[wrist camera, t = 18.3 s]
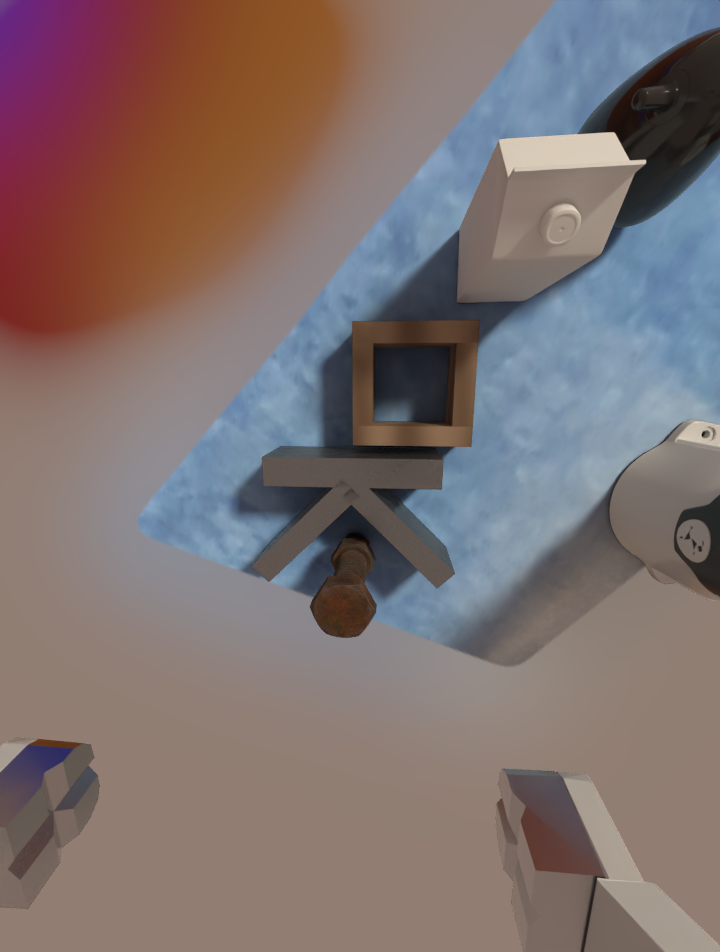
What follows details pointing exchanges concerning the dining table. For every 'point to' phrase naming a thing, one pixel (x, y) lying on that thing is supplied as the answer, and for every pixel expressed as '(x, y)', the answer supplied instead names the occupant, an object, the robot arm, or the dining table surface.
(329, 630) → the bolt
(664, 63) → the black egg shape
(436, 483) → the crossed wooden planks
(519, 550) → the dining table surface
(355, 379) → the bore block
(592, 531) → the dining table surface
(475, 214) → the milk carton
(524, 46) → the dining table surface
